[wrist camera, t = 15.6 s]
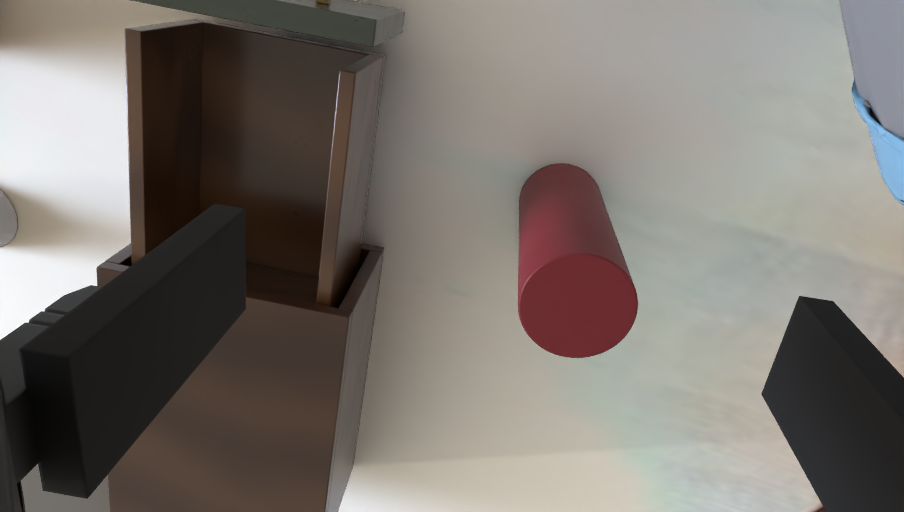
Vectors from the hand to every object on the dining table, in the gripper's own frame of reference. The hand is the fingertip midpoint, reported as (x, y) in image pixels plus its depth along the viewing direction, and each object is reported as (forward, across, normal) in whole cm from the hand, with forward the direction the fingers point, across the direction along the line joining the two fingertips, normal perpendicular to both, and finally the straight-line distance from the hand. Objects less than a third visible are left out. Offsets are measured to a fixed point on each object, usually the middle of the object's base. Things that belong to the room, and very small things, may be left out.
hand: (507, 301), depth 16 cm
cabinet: (+25, -14, -19) cm, 34 cm away
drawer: (+24, -14, -2) cm, 28 cm away
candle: (+25, +3, -6) cm, 26 cm away
